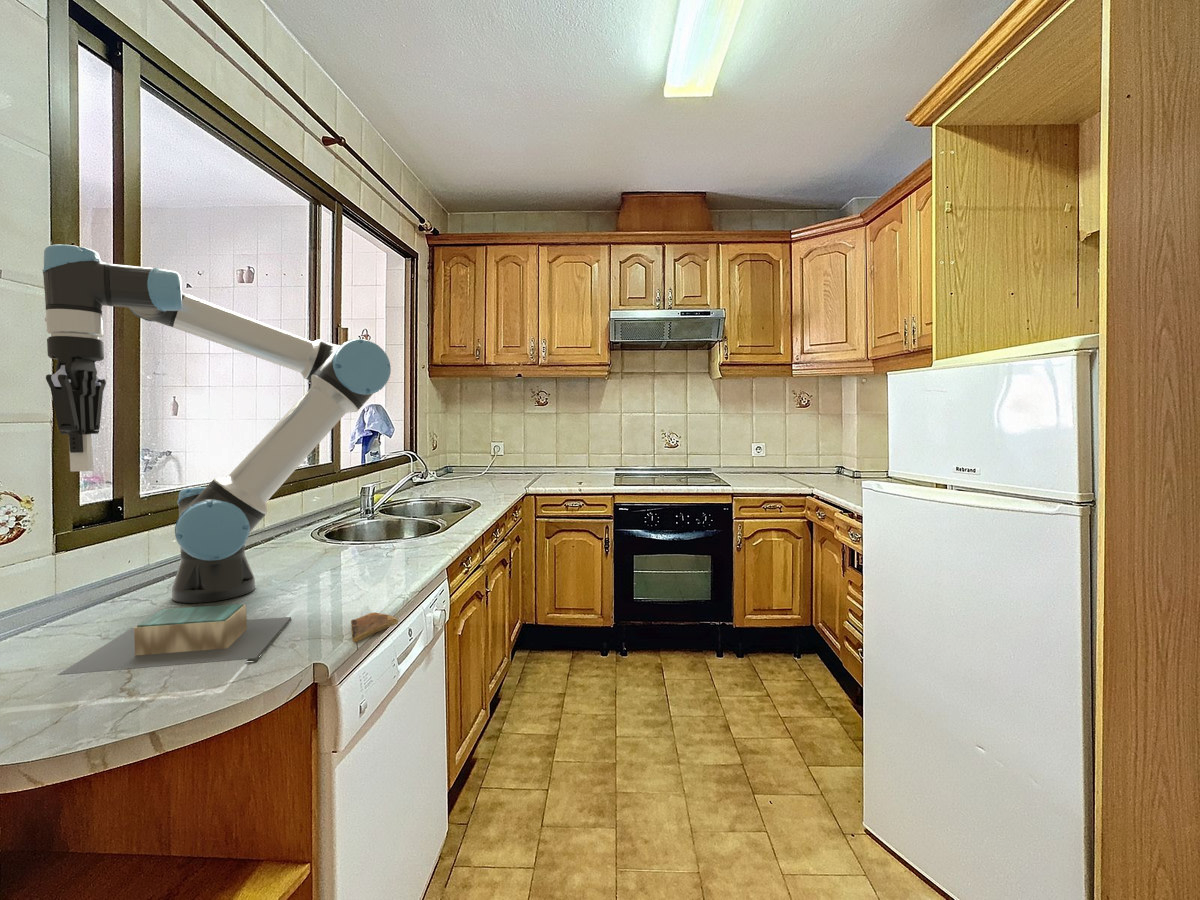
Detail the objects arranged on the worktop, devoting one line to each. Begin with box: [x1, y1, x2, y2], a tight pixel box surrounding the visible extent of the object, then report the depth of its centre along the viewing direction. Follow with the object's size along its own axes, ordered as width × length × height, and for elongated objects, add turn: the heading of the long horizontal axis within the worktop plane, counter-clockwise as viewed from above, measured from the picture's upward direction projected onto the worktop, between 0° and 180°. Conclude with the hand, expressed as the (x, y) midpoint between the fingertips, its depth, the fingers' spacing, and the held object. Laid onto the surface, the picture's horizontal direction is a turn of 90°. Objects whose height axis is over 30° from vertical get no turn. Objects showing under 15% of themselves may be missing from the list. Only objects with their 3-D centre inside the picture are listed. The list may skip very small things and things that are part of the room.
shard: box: [350, 612, 399, 643], centre depth 107 cm, size 11×8×2 cm
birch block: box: [133, 603, 248, 656], centre depth 100 cm, size 5×9×13 cm
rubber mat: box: [57, 616, 292, 676], centre depth 100 cm, size 26×20×1 cm
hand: (81, 470), depth 107 cm, fingers closed
